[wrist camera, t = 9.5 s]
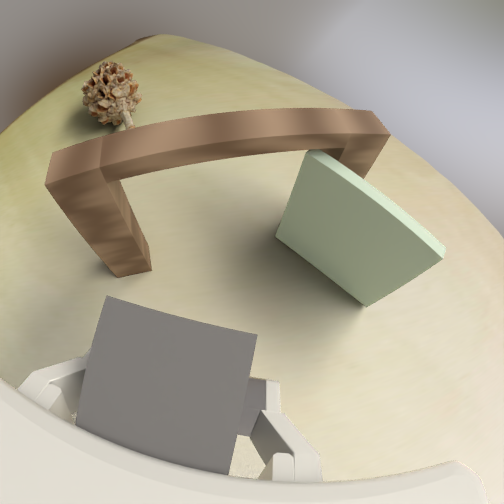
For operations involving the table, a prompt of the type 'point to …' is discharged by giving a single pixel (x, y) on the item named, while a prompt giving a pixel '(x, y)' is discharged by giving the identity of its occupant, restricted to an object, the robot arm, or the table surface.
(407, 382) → the table surface
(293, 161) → the table surface
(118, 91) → the dried seed pod
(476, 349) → the table surface
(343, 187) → the door
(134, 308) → the gray rectangular block
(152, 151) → the door frame
